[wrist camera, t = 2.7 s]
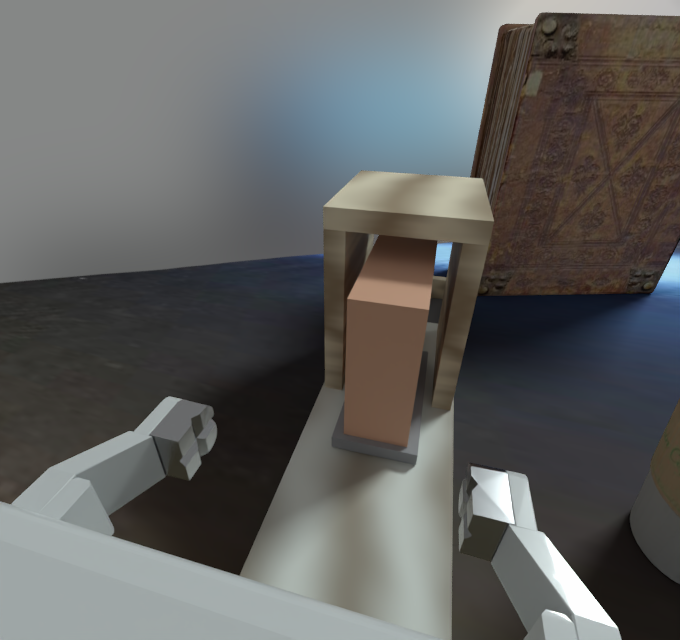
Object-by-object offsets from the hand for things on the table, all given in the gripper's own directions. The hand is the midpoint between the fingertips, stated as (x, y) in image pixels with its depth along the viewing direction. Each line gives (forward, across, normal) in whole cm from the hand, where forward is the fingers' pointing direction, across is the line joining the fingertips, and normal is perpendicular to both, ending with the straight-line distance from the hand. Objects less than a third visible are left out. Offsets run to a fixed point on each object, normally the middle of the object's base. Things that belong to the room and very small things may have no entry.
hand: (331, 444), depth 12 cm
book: (+49, -20, +14) cm, 55 cm away
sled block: (+16, 0, +13) cm, 20 cm away
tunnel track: (+17, 0, +15) cm, 23 cm away
